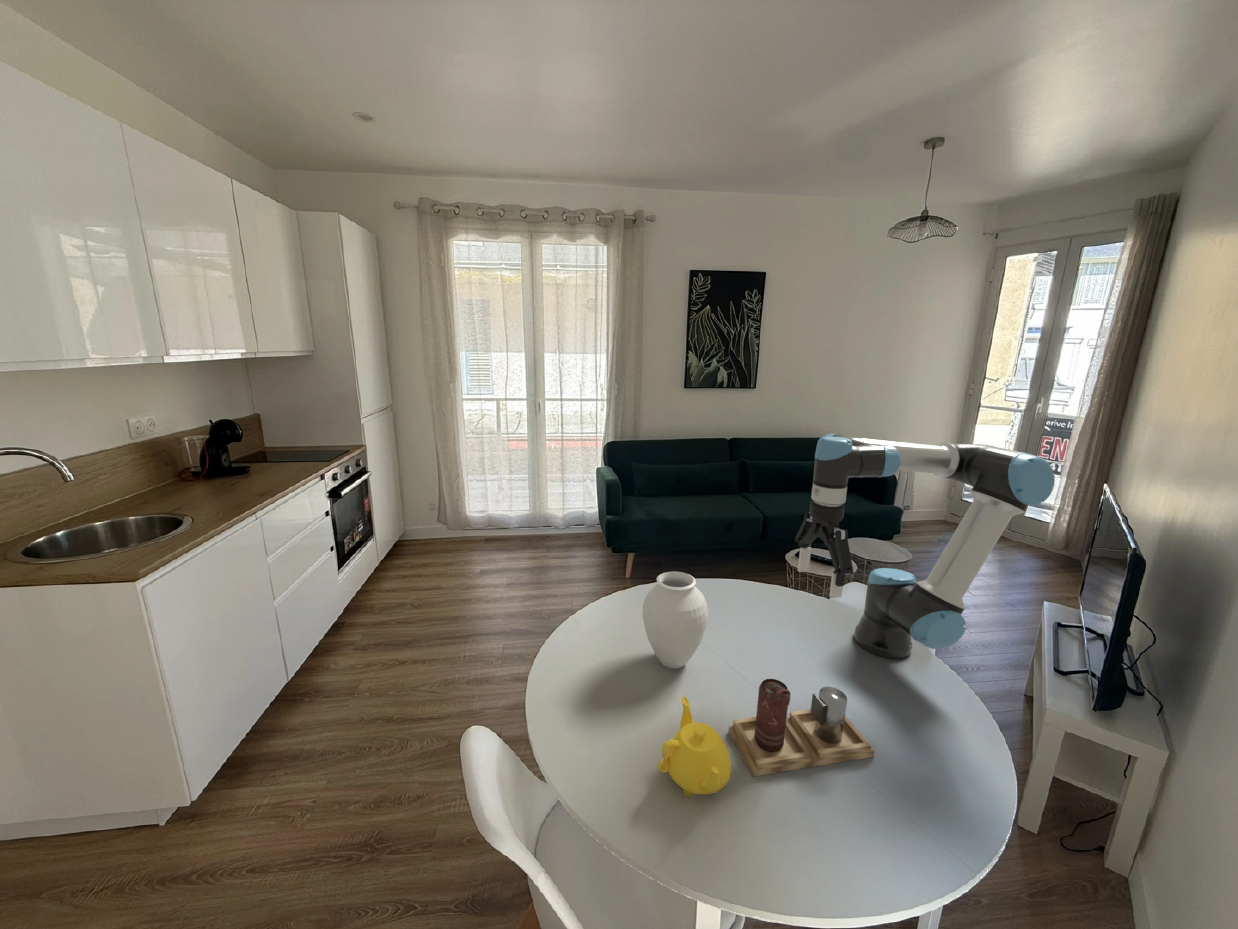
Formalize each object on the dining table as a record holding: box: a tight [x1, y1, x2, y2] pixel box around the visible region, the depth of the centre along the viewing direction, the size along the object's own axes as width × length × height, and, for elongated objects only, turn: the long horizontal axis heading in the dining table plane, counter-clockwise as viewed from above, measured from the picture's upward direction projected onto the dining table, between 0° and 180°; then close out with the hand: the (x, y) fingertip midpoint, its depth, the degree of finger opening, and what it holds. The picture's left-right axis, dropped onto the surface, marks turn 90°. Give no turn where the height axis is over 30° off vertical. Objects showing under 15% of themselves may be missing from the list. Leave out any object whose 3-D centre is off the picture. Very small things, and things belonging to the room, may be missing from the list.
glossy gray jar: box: [810, 686, 848, 744], centre depth 105 cm, size 6×6×10 cm
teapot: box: [657, 695, 732, 797], centre depth 96 cm, size 20×15×12 cm
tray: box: [728, 708, 875, 777], centre depth 105 cm, size 28×12×3 cm, turn 101°
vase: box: [642, 570, 709, 670], centre depth 131 cm, size 18×18×25 cm
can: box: [755, 678, 791, 752], centre depth 103 cm, size 6×6×14 cm
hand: (818, 583), depth 119 cm, fingers open, 13 cm apart
